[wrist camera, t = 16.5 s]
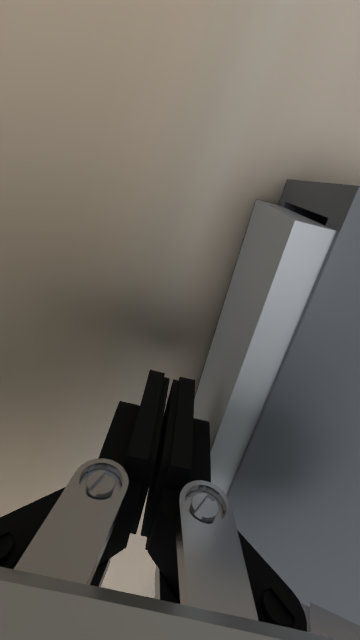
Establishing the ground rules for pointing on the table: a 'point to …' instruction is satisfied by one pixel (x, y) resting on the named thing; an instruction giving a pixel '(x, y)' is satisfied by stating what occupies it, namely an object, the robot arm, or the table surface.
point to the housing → (313, 426)
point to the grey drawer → (256, 327)
